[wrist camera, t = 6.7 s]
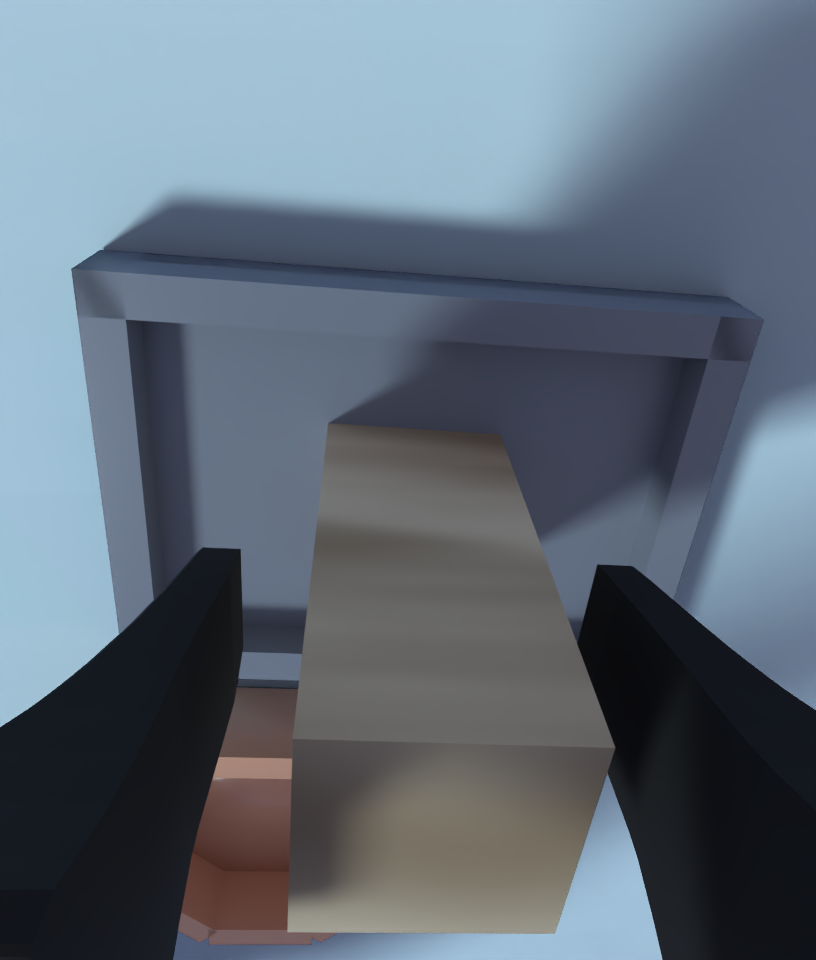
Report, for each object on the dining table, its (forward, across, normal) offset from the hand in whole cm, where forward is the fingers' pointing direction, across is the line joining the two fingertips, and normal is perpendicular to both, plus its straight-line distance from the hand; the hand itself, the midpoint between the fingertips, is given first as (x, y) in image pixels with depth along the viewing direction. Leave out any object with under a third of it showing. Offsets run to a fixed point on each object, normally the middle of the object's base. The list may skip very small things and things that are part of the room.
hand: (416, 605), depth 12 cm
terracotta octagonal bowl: (+4, +3, +10) cm, 11 cm away
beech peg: (+4, 0, 0) cm, 4 cm away
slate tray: (+4, 0, 0) cm, 4 cm away
